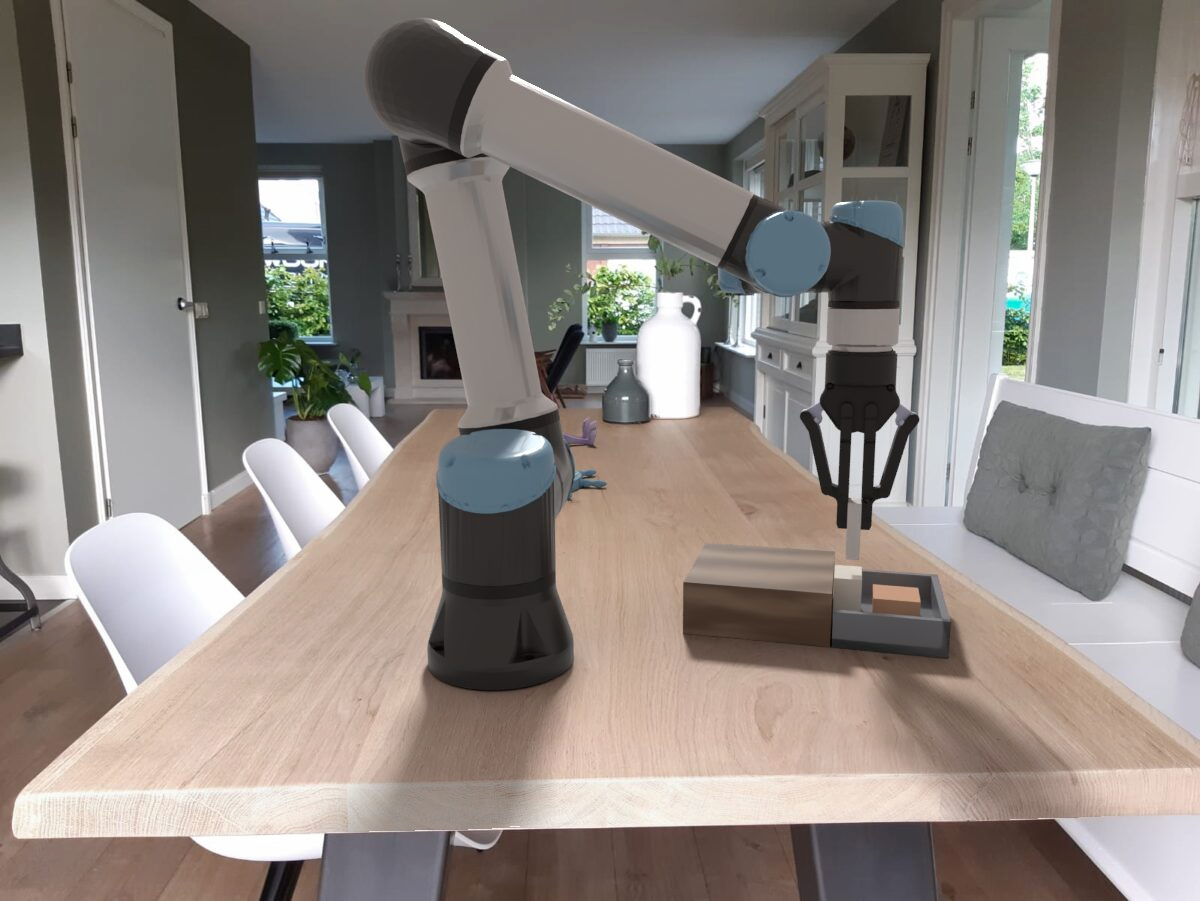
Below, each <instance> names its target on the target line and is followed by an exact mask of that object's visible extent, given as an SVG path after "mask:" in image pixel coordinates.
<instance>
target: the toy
mask: <svg viewBox="0 0 1200 901" xmlns="http://www.w3.org/2000/svg"><path fill="white" fill-rule="evenodd" d="M597 423H598V421H597V419H595V420H593V421H592V420H591V418H590V416H588V417H586V418H585V419H584V420H583V421H582V424H581V432H582V435H581V436H580V435H579V436H578V435H577V436H576V435H572V434H568V433H567V432H566V433H565V432H563V436H564V438H565V440H566V442H567V444H568V445H569V444H570V445H588V446H589V445H590V446H592V445H594V444H595V441H596V438H597V433H598V429H597V427H598V426H597V425H598V424H597Z"/></svg>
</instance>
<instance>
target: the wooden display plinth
mask: <svg viewBox="0 0 1200 901" xmlns="http://www.w3.org/2000/svg"><path fill="white" fill-rule="evenodd" d="M835 559H836V551H832V550H819V549H805V548H787V547H776V546H774V547H773V546H760V545H748V544H747V545H744V544H734V543H733V544H730V543H728V544H727V543H718V542H716V543H714V542H704V545H703V547H702V548H701V550H700V552H699V553H698V555H697V557H696V559H695V561H693V564H692V566H691V567H690V569H689V571H688V573H687V575H686V576H685V579H684V580H683V582H682V586H683V589H682V603H683V604H682V634H689V635H699V636H708V637H719V638H728V639H740V640H750V641H762V642H773V643H780V644H781V643H782V644H783V643H784V644H792V645H793V644H795V645H803V646H804V645H805V646H814V647H825V648H830V647H831V637H832V636H831V635H832V622H833V596H834V574H835V565H836V564H835Z"/></svg>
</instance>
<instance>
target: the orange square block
mask: <svg viewBox="0 0 1200 901" xmlns="http://www.w3.org/2000/svg"><path fill="white" fill-rule="evenodd" d="M920 606H921V601H920V595H919V590H918V588H913V587H901V586H888V585H876V584H873V590H872V613H882V614H894V615H906V616H918V617H920Z"/></svg>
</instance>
